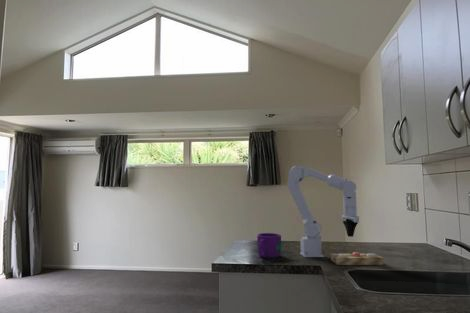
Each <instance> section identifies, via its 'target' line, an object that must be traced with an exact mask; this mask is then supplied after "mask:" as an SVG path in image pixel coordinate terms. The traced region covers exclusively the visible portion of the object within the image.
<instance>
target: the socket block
mask: <svg viewBox="0 0 470 313" xmlns="http://www.w3.org/2000/svg"><path fill="white" fill-rule="evenodd" d="M338 254H339V253H331V254H330V261H331V262H333V263H334V264H336V265H337V266H357V265H359V266H363V265H365V266H367V265H368V266H370V265H371V266H372V265H375V266H376V265H377V266H379V265H381V266H382V265H384V258H383V257H382V256H380V255H378V254H377V253H374V252H373V253H371V252H370V253H369V254H374V255H375V257H368V256H367V254H368V253H360V257H353V253H345V254H346V257H339V256H338Z"/></svg>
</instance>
